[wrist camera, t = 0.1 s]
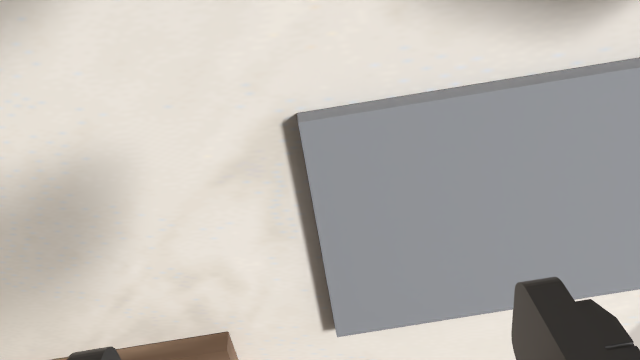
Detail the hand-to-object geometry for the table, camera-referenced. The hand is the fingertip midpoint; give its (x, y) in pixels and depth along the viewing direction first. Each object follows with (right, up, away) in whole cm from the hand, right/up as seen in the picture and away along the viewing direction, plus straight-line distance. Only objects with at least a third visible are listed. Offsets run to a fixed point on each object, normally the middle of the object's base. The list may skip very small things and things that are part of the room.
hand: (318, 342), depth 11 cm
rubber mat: (+10, +2, +21) cm, 23 cm away
